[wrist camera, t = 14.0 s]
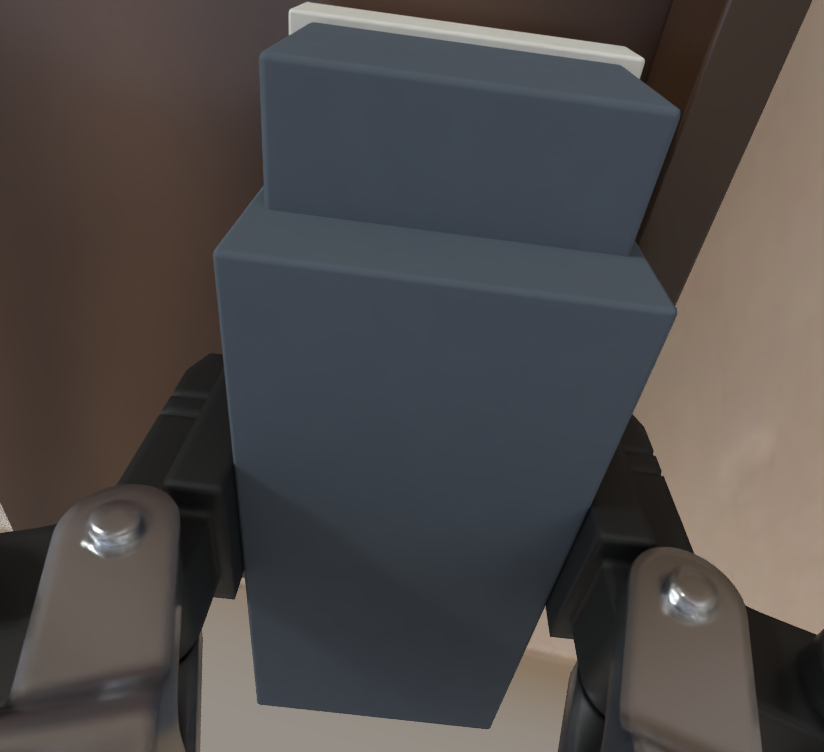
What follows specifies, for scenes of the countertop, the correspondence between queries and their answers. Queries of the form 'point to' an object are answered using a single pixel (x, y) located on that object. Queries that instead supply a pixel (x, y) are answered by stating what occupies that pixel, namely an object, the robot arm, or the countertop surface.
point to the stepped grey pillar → (430, 347)
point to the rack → (249, 189)
